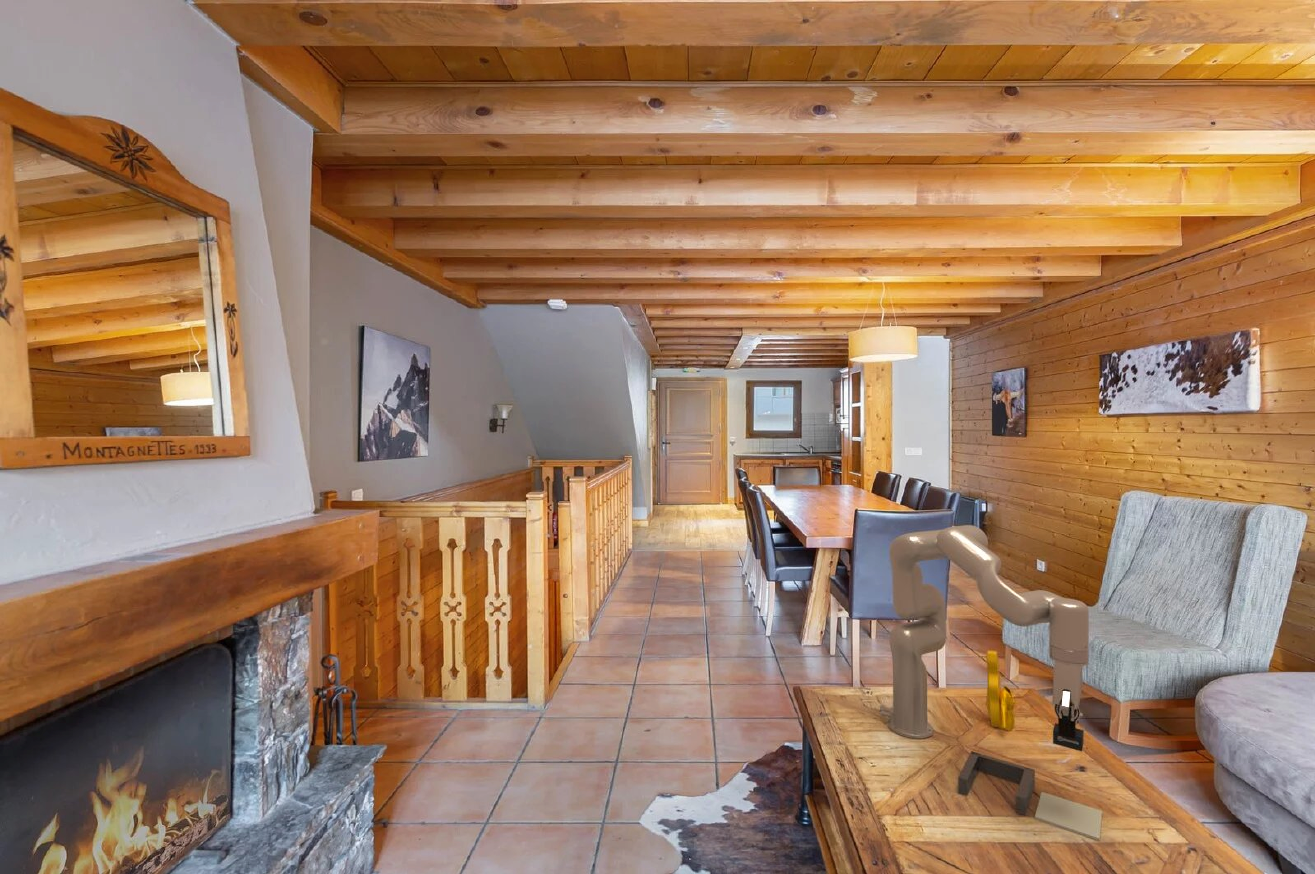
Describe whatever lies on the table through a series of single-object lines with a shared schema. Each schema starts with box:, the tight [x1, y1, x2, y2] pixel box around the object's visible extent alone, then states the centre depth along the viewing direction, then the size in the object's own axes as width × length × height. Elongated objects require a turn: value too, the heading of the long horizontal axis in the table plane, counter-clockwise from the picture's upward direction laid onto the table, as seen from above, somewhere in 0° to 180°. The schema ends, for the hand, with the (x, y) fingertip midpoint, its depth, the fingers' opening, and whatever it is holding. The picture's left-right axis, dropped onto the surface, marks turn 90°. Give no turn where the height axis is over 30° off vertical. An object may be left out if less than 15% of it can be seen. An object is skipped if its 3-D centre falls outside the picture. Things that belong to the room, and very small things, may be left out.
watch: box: [1052, 696, 1085, 752], centre depth 139 cm, size 6×8×11 cm
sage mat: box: [1034, 791, 1103, 842], centre depth 139 cm, size 12×12×1 cm
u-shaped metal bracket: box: [957, 750, 1036, 817], centre depth 150 cm, size 14×15×4 cm
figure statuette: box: [985, 649, 1016, 732], centre depth 182 cm, size 18×8×22 cm, turn 144°
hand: (1068, 728), depth 139 cm, fingers closed on watch, 8 cm apart
